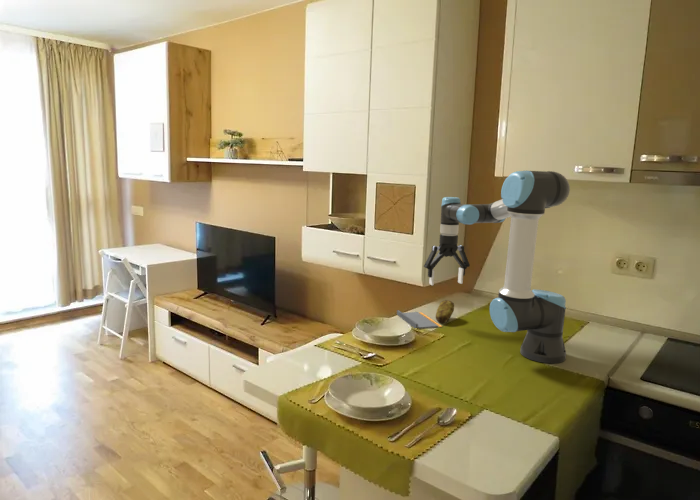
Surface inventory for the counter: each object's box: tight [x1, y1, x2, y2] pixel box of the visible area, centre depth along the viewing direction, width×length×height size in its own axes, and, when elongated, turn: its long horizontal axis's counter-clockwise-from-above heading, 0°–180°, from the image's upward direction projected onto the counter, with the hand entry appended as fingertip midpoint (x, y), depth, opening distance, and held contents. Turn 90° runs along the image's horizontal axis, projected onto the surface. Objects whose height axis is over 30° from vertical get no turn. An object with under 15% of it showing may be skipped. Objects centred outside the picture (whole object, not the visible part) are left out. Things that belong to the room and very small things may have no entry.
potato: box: [435, 299, 455, 324], centre depth 219 cm, size 8×13×8 cm, turn 140°
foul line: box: [418, 311, 443, 328], centre depth 220 cm, size 20×1×1 cm, turn 17°
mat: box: [396, 309, 439, 330], centre depth 218 cm, size 20×10×2 cm, turn 17°
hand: (445, 283), depth 217 cm, fingers open, 13 cm apart
